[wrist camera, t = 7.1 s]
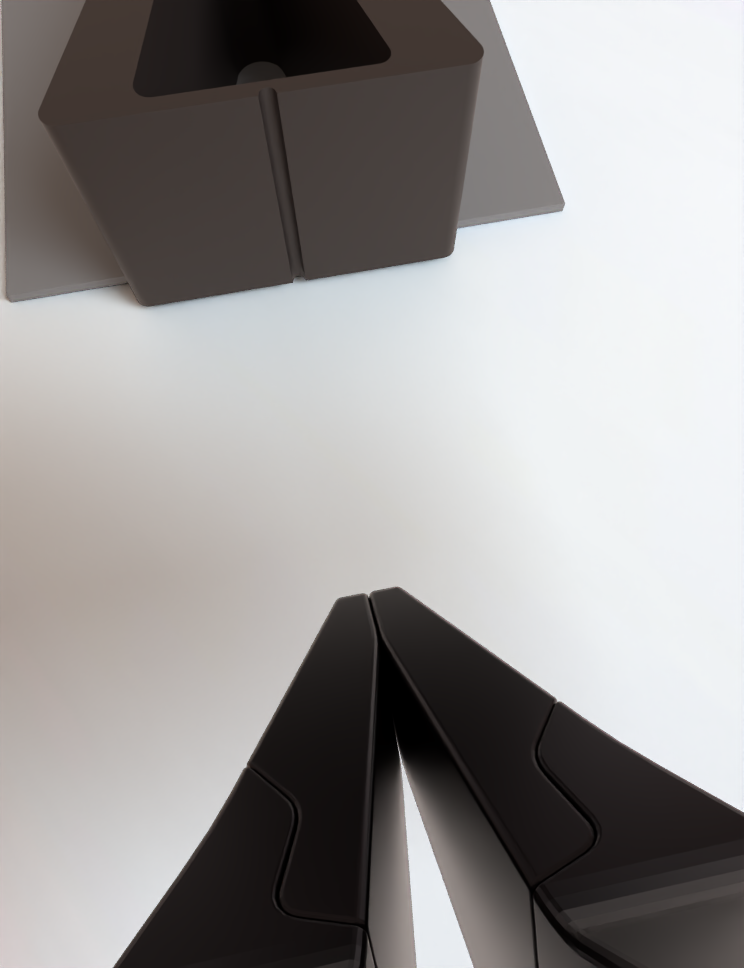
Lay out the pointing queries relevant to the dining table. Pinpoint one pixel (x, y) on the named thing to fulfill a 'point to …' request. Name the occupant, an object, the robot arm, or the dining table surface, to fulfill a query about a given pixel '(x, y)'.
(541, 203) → the mat
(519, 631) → the dining table surface
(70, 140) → the phone stand
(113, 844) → the dining table surface
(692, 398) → the dining table surface
